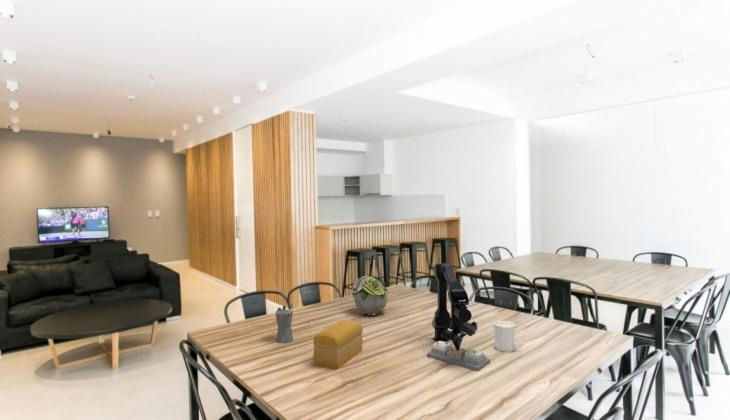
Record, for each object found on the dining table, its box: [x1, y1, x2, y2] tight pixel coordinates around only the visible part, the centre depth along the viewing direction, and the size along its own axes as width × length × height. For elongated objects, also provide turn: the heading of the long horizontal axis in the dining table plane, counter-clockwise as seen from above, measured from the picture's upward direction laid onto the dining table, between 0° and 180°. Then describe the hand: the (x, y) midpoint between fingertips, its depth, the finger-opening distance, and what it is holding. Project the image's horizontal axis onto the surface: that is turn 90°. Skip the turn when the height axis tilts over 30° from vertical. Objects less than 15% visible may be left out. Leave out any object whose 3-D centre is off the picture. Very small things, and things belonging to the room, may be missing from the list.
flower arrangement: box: [350, 275, 389, 316], centre depth 253 cm, size 25×25×24 cm
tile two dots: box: [432, 341, 452, 351], centre depth 184 cm, size 6×6×3 cm
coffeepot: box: [275, 305, 294, 344], centre depth 208 cm, size 15×9×18 cm, turn 33°
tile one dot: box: [465, 348, 485, 360], centre depth 173 cm, size 6×6×3 cm
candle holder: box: [493, 320, 516, 353], centre depth 191 cm, size 10×10×12 cm
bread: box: [312, 319, 364, 370], centre depth 183 cm, size 24×13×15 cm, turn 154°
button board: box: [426, 346, 491, 372], centre depth 179 cm, size 25×12×4 cm, turn 49°
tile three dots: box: [449, 346, 468, 356], centre depth 179 cm, size 6×6×3 cm
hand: (457, 349), depth 179 cm, fingers closed, pressing on tile three dots
